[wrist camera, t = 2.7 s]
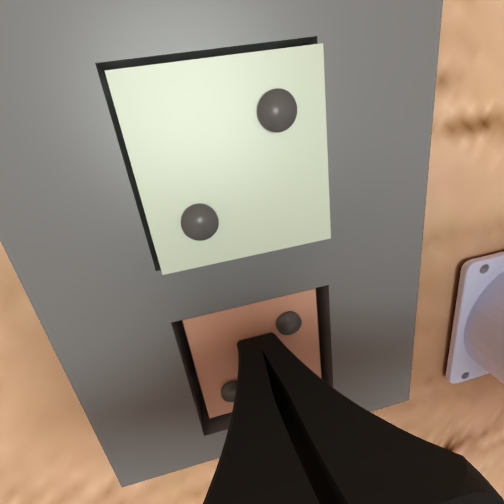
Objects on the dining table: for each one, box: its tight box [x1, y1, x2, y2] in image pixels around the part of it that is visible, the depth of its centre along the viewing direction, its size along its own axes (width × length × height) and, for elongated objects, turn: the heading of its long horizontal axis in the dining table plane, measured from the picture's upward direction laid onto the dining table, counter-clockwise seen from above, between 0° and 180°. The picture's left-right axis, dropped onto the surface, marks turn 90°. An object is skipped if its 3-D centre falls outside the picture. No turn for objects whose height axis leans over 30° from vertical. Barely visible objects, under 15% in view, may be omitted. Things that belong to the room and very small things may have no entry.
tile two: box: [105, 43, 331, 275], centre depth 8 cm, size 5×5×2 cm
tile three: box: [183, 288, 321, 419], centre depth 12 cm, size 5×5×2 cm
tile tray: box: [0, 0, 443, 487], centre depth 10 cm, size 12×22×4 cm, turn 8°
